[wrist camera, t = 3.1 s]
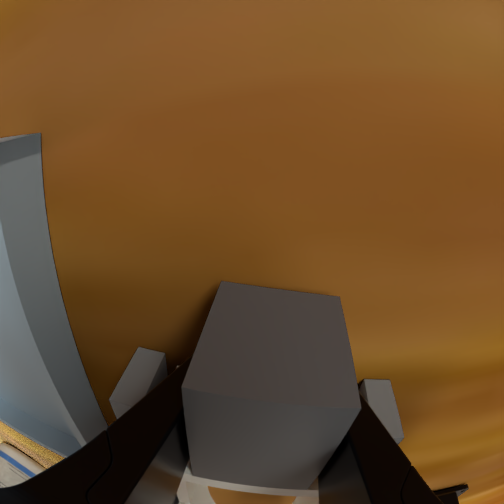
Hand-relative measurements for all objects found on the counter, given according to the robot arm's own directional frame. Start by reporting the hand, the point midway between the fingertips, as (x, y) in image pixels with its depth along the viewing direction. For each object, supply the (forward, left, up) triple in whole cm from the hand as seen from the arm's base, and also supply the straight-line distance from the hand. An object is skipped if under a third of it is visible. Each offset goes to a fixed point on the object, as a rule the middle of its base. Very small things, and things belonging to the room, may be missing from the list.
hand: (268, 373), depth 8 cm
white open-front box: (-5, 0, -1) cm, 5 cm away
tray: (-3, +13, -2) cm, 13 cm away
